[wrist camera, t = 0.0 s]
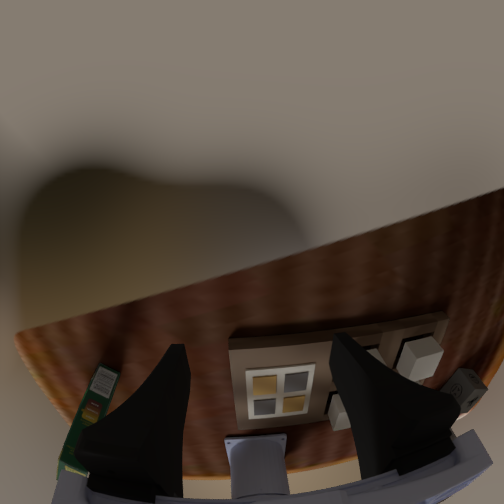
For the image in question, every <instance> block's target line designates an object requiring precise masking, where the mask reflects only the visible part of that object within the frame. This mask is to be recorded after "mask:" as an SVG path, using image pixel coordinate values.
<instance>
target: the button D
mask: <svg viewBox="0 0 504 504" xmlns="http://www.w3.org/2000/svg"><path fill="white" fill-rule="evenodd" d="M443 352H444V350H443V349H442V348H441V347H440V345H439V344H438V343H437V342H436V341H435V339H434V338H433V337H432V336H430V337H426V338H422V339H418V340H414V341H410V342H405V345H404V347H403V350H402V353H401V356H400V359H399V362H398V364H397V367H396V368H397V370H398V372H399V373H400V375H402V376H404V377H405V378H407V379H409V380H412V381H414V382H415V381H418V380H421V379H425V378H428V377H431V376H433V374H434V372H435V370H436V368H437V365H438V363H439V361H440V359H441V357H442V354H443Z"/></svg>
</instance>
